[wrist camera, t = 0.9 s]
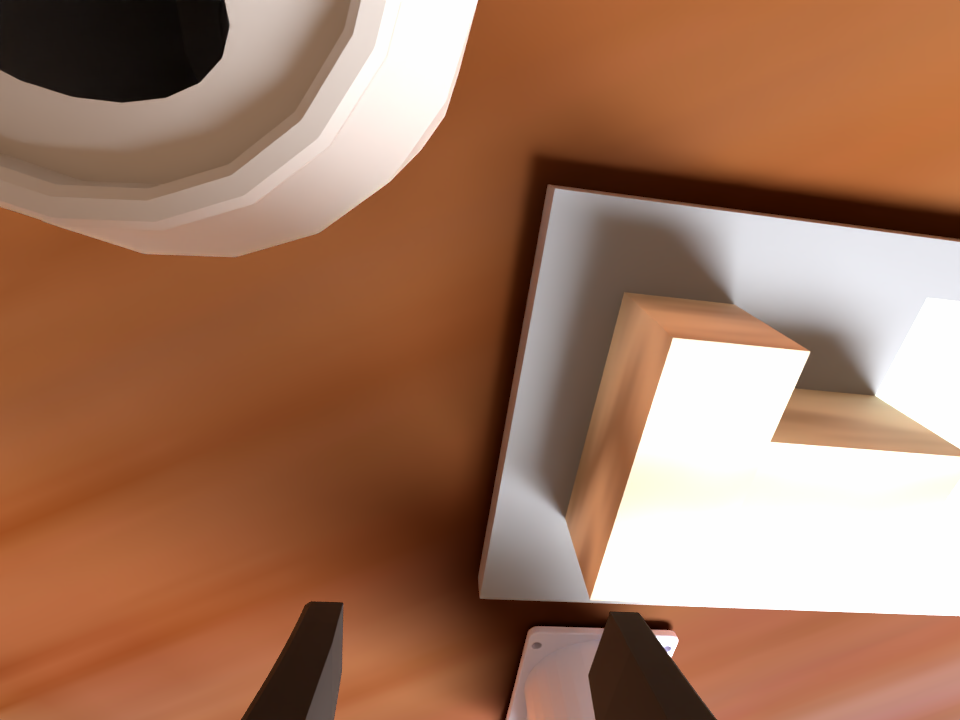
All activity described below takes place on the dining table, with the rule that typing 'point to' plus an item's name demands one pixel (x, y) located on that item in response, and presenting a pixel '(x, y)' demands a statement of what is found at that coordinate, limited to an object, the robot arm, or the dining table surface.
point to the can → (216, 113)
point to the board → (829, 367)
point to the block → (735, 455)
